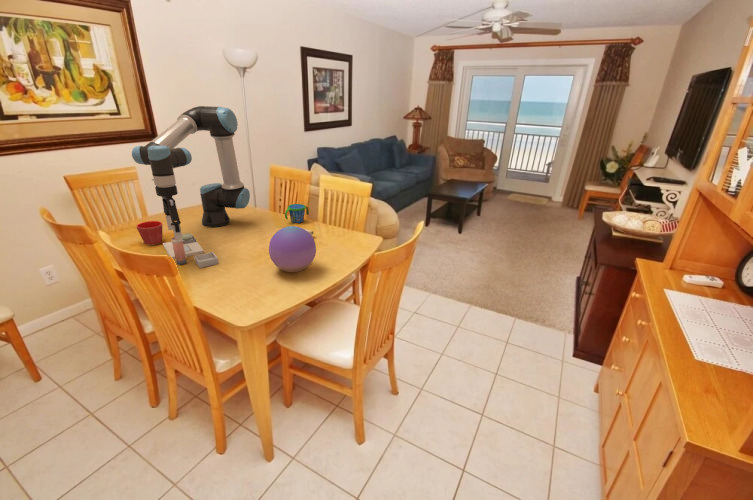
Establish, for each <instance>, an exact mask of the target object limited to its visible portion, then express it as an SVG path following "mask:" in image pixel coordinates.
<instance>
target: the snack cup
mask: <svg viewBox="0 0 753 500" xmlns="http://www.w3.org/2000/svg"><path fill="white" fill-rule="evenodd" d="M288 212H289V218H290V222H291V223H292V222H293V223H292V224H295V223H299V224H302V223H301V222H303V223H304V222H305V213H306V215H307V216H308V215H309V214H310V211H309V207H308V206H307V205H305V204H303V203H292V204H289V205H288V206H287V208H286V209H285V212H284V218H285V219H286V220H288V219H289V218H288Z"/></svg>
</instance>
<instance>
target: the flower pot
mask: <svg viewBox="0 0 753 500" xmlns="http://www.w3.org/2000/svg"><path fill="white" fill-rule="evenodd" d="M135 228H136V230H137V231H138V233H139V235H140V237H141V239H142V241H143V243H144V244H145V245H147V246H153V245H155V246H156V245H159V244H162V242H163V237H164V235H163V222H162V221H159V220H149V221H144V222H141V223H138V224H136V227H135Z"/></svg>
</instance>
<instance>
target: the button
mask: <svg viewBox="0 0 753 500" xmlns="http://www.w3.org/2000/svg"><path fill="white" fill-rule="evenodd" d="M192 235H193V234H192V233H190V232H189V233H187V232H186V233H182V238H183V239H182V240H190V239H192V238H193V237H192Z"/></svg>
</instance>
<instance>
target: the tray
mask: <svg viewBox="0 0 753 500" xmlns="http://www.w3.org/2000/svg"><path fill="white" fill-rule="evenodd" d="M193 257H194V262H195V265H197V266H198V269H203V268H207V267H211V266H217V265H219V264H220V263H219V257H218V256H217V255H216V254H215V253H214V252H213V251H210V252H206V253H205V252H204V253H201V254H197V255H193Z"/></svg>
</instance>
